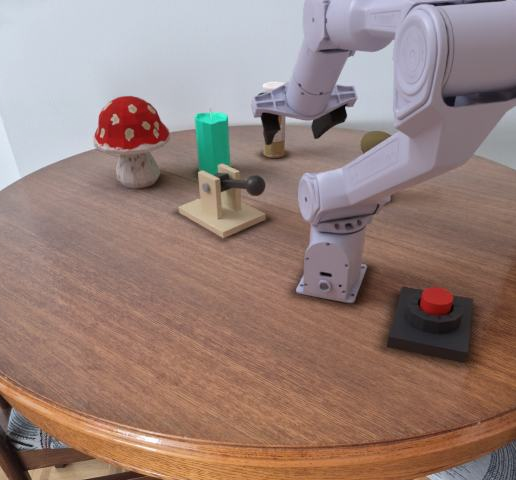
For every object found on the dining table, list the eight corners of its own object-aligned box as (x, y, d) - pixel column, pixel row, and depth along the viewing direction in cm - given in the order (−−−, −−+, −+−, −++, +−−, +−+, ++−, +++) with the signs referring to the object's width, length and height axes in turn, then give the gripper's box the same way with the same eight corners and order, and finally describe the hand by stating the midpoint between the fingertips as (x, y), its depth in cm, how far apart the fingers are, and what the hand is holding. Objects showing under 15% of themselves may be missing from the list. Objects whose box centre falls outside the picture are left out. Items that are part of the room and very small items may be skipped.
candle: (193, 176, 103) (187, 110, 95) (210, 164, 107) (205, 100, 99) (220, 181, 101) (216, 115, 93) (236, 169, 105) (233, 105, 97)
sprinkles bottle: (260, 157, 110) (259, 86, 101) (267, 149, 113) (267, 79, 104) (281, 160, 108) (282, 88, 100) (288, 151, 112) (289, 81, 103)
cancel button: (449, 319, 64) (452, 307, 63) (417, 313, 65) (420, 301, 64) (451, 301, 66) (454, 290, 65) (421, 296, 67) (424, 284, 66)
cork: (386, 205, 93) (396, 141, 86) (351, 202, 94) (357, 138, 87) (387, 190, 97) (397, 127, 90) (353, 187, 98) (360, 125, 91)
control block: (464, 363, 63) (472, 340, 60) (386, 347, 65) (390, 324, 63) (470, 309, 70) (476, 286, 68) (400, 296, 73) (404, 274, 70)
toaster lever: (271, 193, 81) (267, 172, 79) (256, 199, 79) (252, 178, 78) (223, 188, 89) (219, 170, 88) (209, 194, 88) (204, 175, 86)
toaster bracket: (265, 220, 89) (265, 174, 84) (223, 239, 85) (220, 192, 80) (220, 196, 96) (217, 153, 91) (178, 213, 92) (173, 168, 87)
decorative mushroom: (191, 175, 103) (183, 92, 94) (144, 204, 94) (130, 115, 85) (134, 161, 109) (121, 81, 99) (85, 188, 100) (65, 102, 90)
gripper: (359, 42, 71) (329, 107, 84) (252, 52, 68) (238, 117, 81) (373, 90, 70) (340, 148, 83) (265, 102, 67) (249, 160, 80)
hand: (291, 135), depth 82 cm, fingers open, 7 cm apart
